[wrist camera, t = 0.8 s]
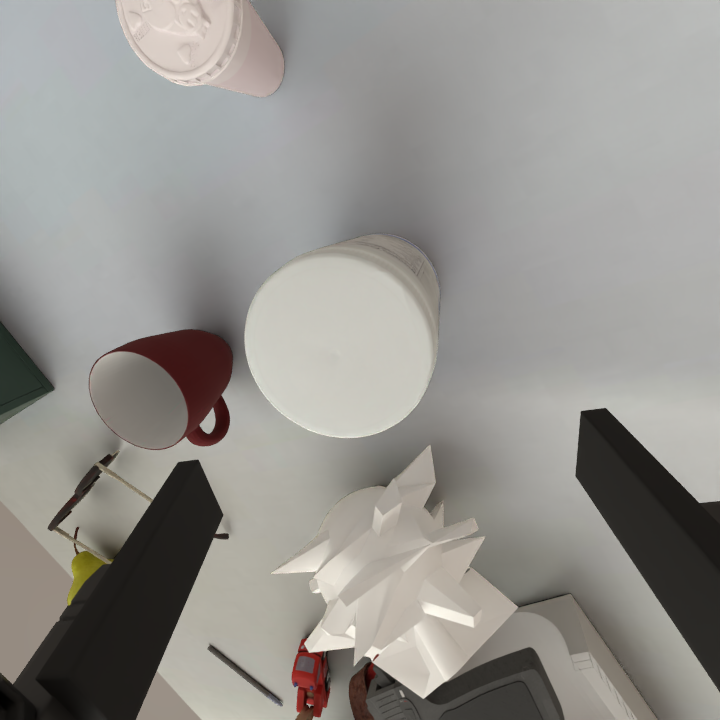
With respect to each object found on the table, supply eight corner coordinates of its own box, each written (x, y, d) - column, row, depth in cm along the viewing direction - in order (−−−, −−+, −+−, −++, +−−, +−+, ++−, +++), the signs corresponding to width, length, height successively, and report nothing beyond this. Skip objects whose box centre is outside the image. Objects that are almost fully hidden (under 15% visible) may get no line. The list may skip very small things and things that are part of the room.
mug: (284, 393, 37) (231, 455, 28) (223, 423, 40) (157, 488, 31) (219, 296, 35) (138, 329, 26) (159, 335, 37) (67, 378, 28)
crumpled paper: (254, 497, 25) (400, 767, 17) (434, 410, 35) (580, 558, 27) (245, 603, 38) (328, 787, 30) (379, 518, 48) (468, 640, 40)
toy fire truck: (326, 637, 49) (299, 732, 40) (333, 704, 54) (312, 802, 45) (300, 632, 49) (269, 725, 41) (310, 699, 54) (284, 794, 46)
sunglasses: (126, 437, 43) (90, 467, 38) (240, 523, 46) (220, 560, 41) (79, 499, 48) (43, 531, 44) (184, 571, 51) (160, 609, 47)
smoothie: (244, -15, 26) (48, -228, 13) (320, 50, 26) (204, -94, 14) (203, 81, 28) (7, -19, 16) (273, 138, 29) (138, 87, 16)
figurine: (343, 761, 38) (408, 659, 41) (324, 690, 47) (378, 611, 50) (450, 838, 40) (505, 737, 43) (411, 756, 49) (458, 677, 52)
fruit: (78, 646, 44) (18, 562, 46) (104, 626, 51) (51, 553, 52) (134, 597, 47) (75, 519, 48) (152, 584, 53) (100, 515, 54)
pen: (207, 649, 54) (282, 708, 56) (210, 644, 55) (284, 703, 56) (206, 649, 55) (279, 707, 56) (209, 644, 55) (281, 703, 57)
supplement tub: (421, 361, 33) (404, 469, 20) (315, 331, 34) (231, 414, 21) (457, 246, 29) (467, 283, 16) (336, 216, 30) (249, 226, 17)
